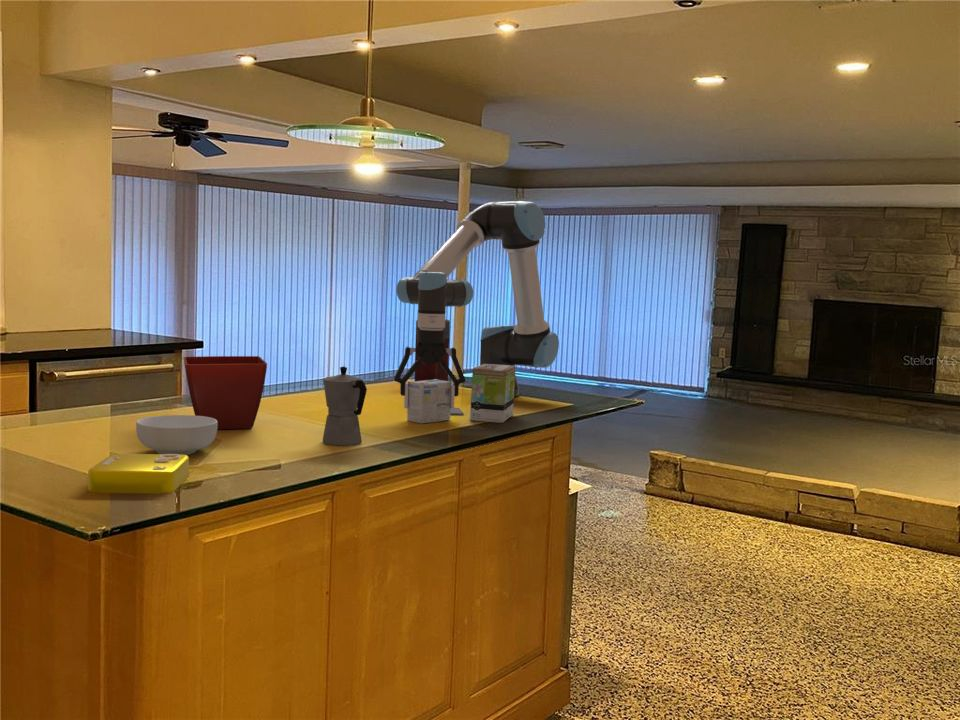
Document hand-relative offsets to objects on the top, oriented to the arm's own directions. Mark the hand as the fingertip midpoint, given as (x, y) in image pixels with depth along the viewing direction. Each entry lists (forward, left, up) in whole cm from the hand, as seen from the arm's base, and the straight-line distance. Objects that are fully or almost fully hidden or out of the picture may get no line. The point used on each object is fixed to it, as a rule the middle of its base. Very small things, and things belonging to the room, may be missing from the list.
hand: (428, 408), depth 241 cm
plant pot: (+9, -53, -4) cm, 54 cm away
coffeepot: (+31, -23, -4) cm, 39 cm away
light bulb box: (0, 0, -4) cm, 4 cm away
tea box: (-5, +18, -4) cm, 19 cm away
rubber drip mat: (-14, +4, -3) cm, 15 cm away
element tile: (+68, -61, -4) cm, 91 cm away
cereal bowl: (+41, -59, -4) cm, 72 cm away
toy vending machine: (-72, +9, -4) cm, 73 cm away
